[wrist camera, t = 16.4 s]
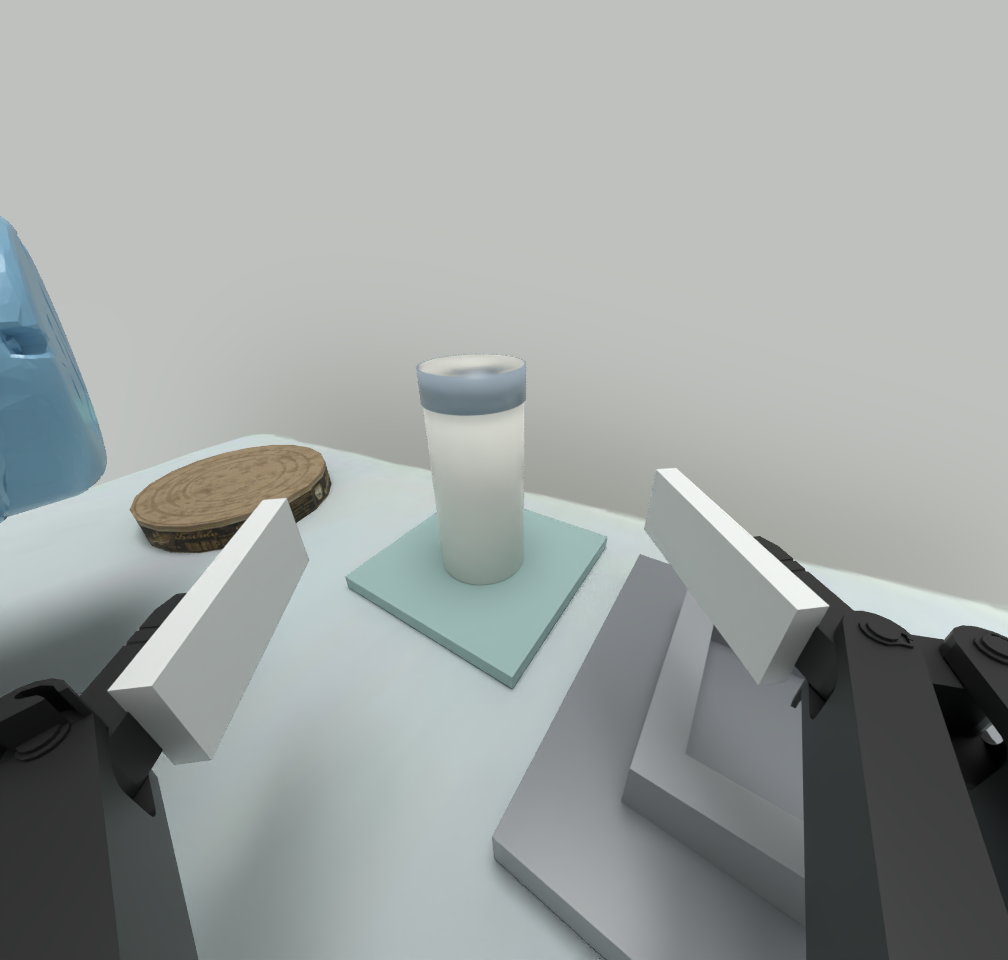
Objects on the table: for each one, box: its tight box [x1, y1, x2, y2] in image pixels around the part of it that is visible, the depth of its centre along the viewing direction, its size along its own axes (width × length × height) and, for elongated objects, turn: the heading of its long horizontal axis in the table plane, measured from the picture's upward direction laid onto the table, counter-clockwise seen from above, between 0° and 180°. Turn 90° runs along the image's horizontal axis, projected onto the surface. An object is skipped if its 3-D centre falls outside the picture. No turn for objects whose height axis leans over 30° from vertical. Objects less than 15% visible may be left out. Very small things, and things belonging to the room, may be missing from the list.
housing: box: [492, 554, 1003, 960], centre depth 15 cm, size 18×18×4 cm
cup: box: [416, 354, 526, 585], centre depth 25 cm, size 6×6×14 cm
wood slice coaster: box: [130, 445, 331, 553], centre depth 37 cm, size 16×16×3 cm
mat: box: [346, 509, 607, 689], centre depth 29 cm, size 14×14×1 cm
